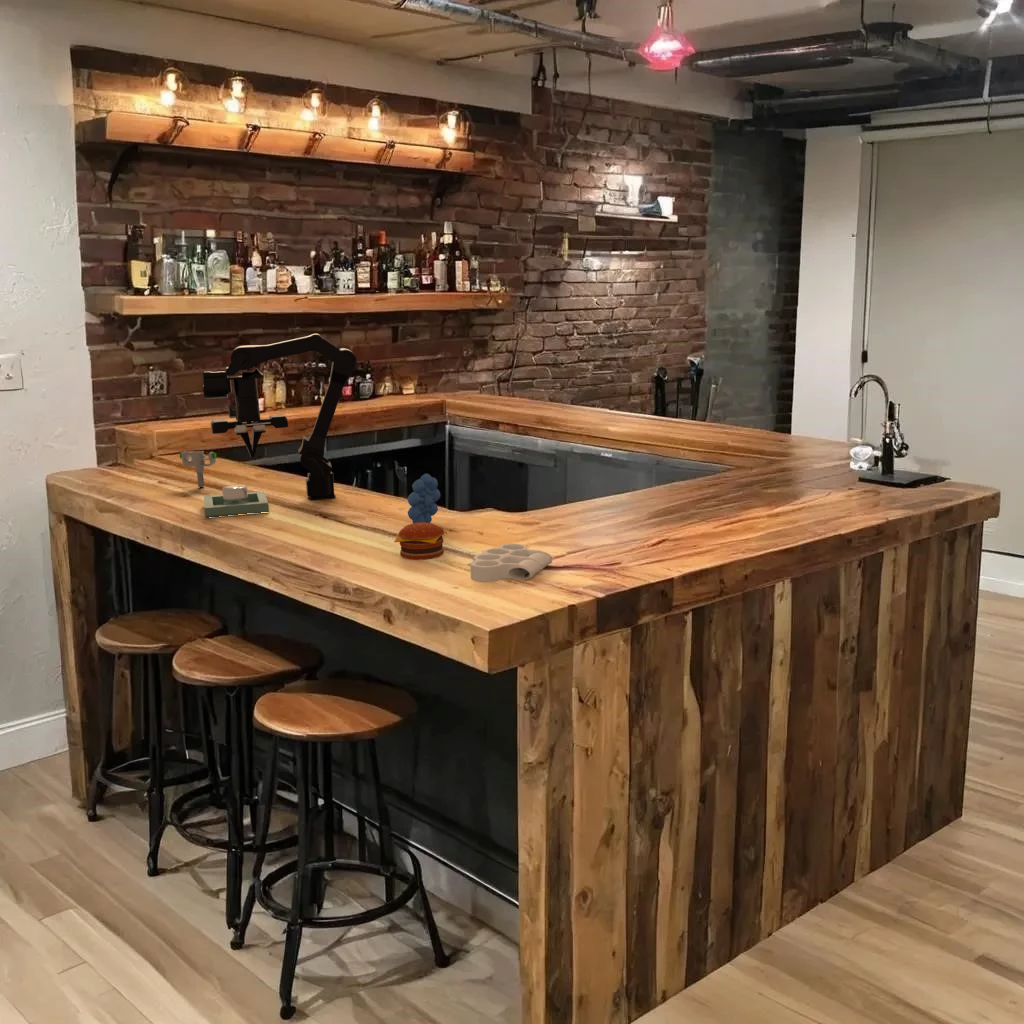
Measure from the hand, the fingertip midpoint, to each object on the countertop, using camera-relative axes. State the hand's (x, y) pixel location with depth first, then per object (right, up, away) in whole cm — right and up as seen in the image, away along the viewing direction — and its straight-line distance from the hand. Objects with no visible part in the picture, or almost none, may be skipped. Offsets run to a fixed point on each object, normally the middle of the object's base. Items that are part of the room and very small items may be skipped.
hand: (252, 457), depth 288 cm
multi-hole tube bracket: (+65, -26, -68) cm, 97 cm away
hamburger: (+48, -23, -54) cm, 75 cm away
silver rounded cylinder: (-2, -13, -7) cm, 15 cm away
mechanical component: (-19, -7, +22) cm, 30 cm away
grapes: (+46, -17, -29) cm, 57 cm away
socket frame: (-2, -13, -7) cm, 15 cm away
